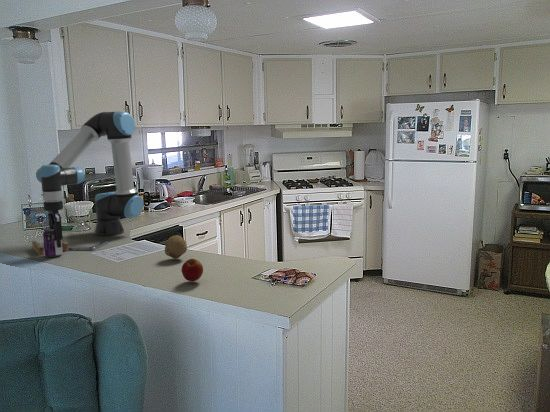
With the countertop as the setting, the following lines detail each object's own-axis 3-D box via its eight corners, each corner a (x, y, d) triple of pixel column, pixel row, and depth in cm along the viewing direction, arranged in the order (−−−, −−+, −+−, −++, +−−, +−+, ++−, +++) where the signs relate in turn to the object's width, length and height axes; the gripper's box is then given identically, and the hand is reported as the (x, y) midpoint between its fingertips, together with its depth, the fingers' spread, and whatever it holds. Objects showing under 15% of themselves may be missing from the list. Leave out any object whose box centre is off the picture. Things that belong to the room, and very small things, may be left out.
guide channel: (60, 244, 221) (59, 237, 221) (68, 251, 209) (68, 243, 208) (32, 248, 214) (32, 241, 214) (40, 255, 202) (39, 247, 201)
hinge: (113, 247, 215) (113, 244, 215) (71, 253, 204) (71, 251, 203) (106, 243, 223) (106, 240, 223) (65, 249, 212) (65, 246, 212)
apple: (177, 282, 162) (176, 260, 161) (193, 276, 169) (192, 255, 168) (192, 285, 158) (191, 263, 157) (208, 279, 165) (207, 257, 164)
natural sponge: (192, 257, 194) (191, 234, 193) (177, 262, 187) (175, 238, 185) (177, 254, 199) (176, 232, 198) (161, 259, 192) (160, 236, 191)
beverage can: (53, 258, 196) (50, 231, 194) (41, 257, 199) (38, 230, 197) (66, 254, 202) (64, 228, 200) (55, 253, 205) (52, 227, 203)
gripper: (38, 199, 202) (43, 250, 205) (48, 204, 187) (53, 258, 191) (57, 197, 206) (61, 248, 210) (67, 202, 192) (72, 255, 196)
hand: (57, 253), depth 200 cm, fingers closed on beverage can, 5 cm apart
